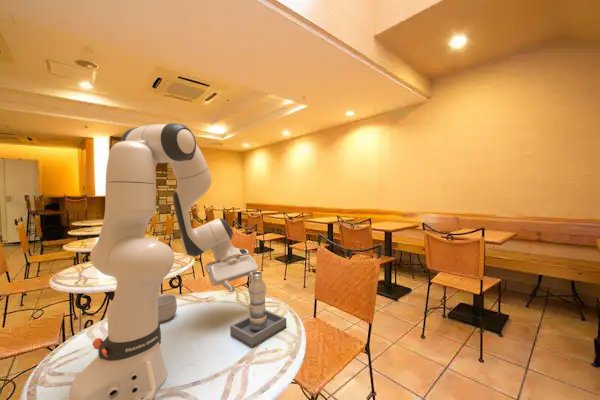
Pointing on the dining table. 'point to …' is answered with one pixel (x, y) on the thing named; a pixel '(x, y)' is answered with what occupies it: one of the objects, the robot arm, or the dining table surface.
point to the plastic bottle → (257, 302)
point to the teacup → (166, 306)
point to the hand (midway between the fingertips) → (243, 287)
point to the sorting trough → (253, 337)
